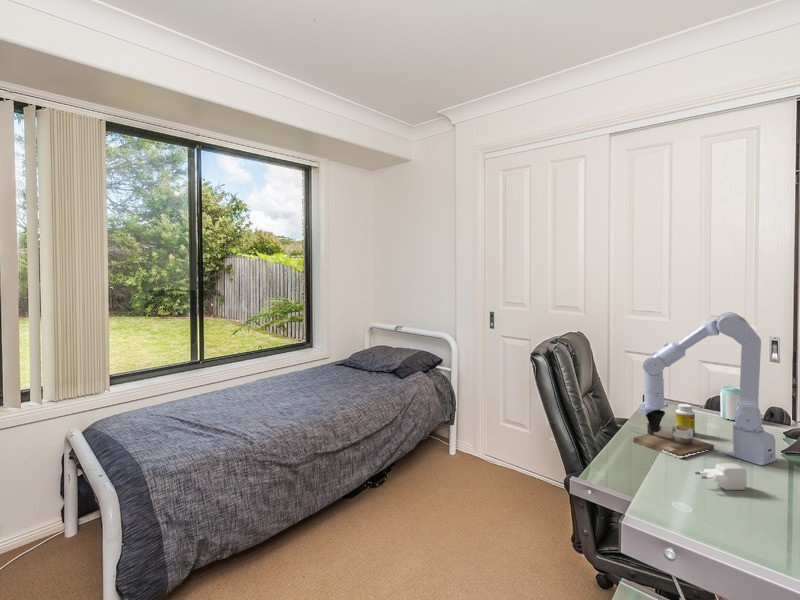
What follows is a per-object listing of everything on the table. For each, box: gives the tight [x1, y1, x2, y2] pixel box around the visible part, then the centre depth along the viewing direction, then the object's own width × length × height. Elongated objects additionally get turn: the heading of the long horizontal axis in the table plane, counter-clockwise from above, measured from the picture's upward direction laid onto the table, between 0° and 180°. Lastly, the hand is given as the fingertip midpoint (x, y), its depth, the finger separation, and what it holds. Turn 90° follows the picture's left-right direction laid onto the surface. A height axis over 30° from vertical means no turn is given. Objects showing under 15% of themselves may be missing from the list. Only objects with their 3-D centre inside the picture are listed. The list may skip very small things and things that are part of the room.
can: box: [719, 386, 740, 421], centre depth 161 cm, size 7×7×12 cm
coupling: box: [646, 422, 694, 444], centre depth 141 cm, size 13×6×5 cm, turn 34°
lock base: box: [632, 433, 715, 456], centre depth 139 cm, size 16×16×2 cm
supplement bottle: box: [675, 403, 696, 435], centre depth 148 cm, size 6×6×10 cm
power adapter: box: [694, 462, 748, 491], centre depth 110 cm, size 11×5×6 cm, turn 87°
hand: (654, 431), depth 143 cm, fingers closed
